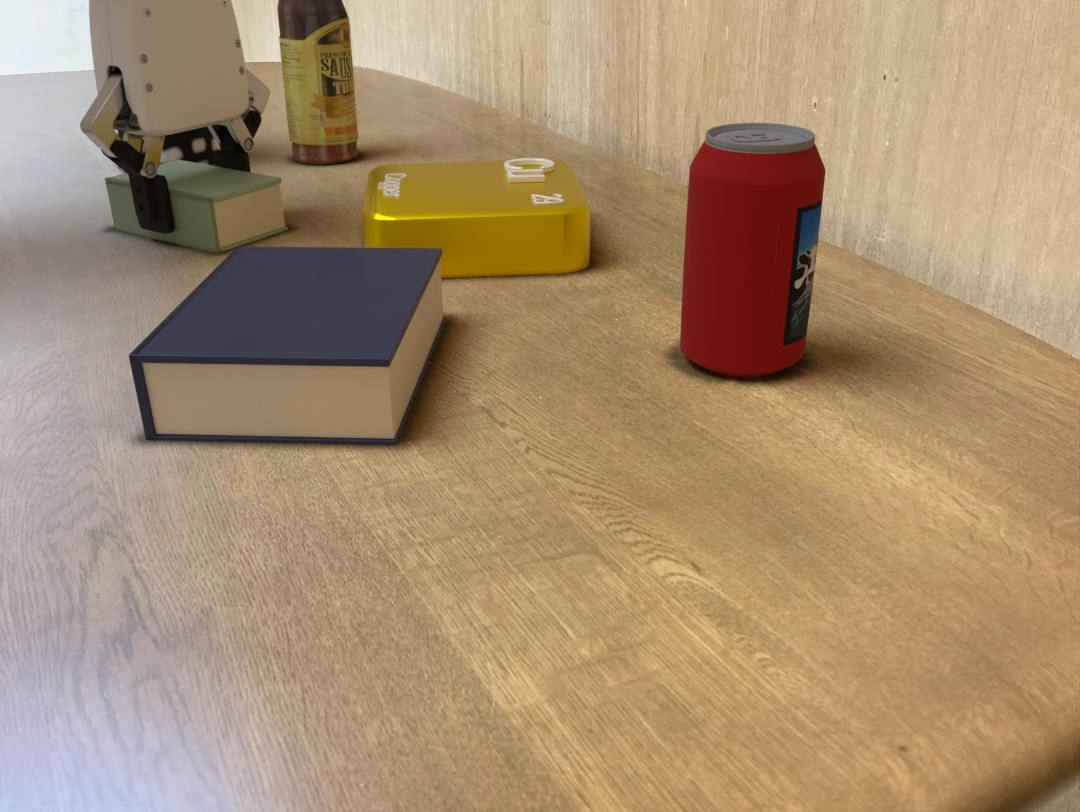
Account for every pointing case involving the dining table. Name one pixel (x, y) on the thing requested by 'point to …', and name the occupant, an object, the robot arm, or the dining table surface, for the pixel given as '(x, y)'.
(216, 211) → the hardcover book
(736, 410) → the dining table surface
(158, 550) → the dining table surface
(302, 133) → the sauce bottle
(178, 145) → the spotted tube
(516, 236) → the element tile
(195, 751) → the dining table surface
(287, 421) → the encyclopedia
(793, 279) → the beverage can
